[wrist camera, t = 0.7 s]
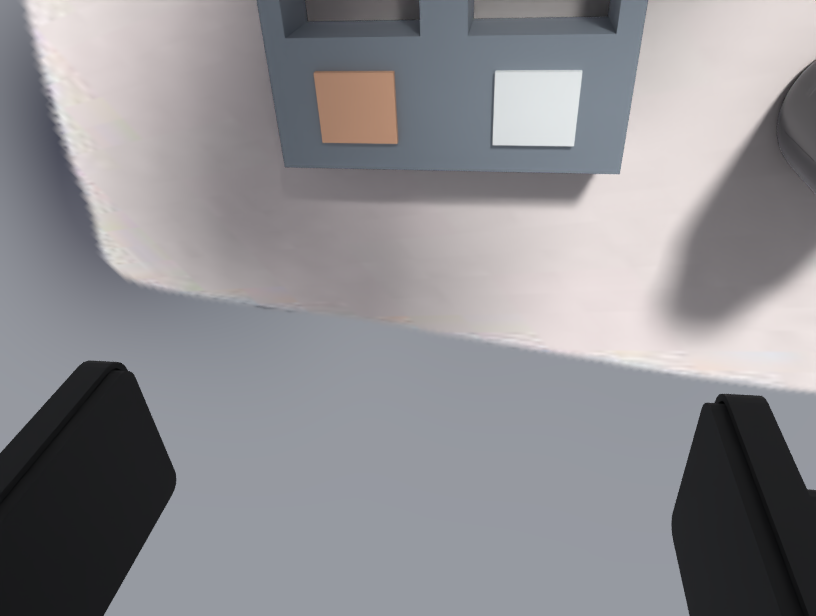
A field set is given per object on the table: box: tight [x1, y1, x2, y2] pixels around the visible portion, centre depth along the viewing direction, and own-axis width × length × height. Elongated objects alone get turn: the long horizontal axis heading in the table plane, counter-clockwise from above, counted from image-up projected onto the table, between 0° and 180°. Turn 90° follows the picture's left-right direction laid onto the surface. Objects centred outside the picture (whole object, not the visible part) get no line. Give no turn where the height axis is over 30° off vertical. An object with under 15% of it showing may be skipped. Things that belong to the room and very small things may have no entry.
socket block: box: [257, 0, 648, 174], centre depth 27 cm, size 14×16×4 cm
